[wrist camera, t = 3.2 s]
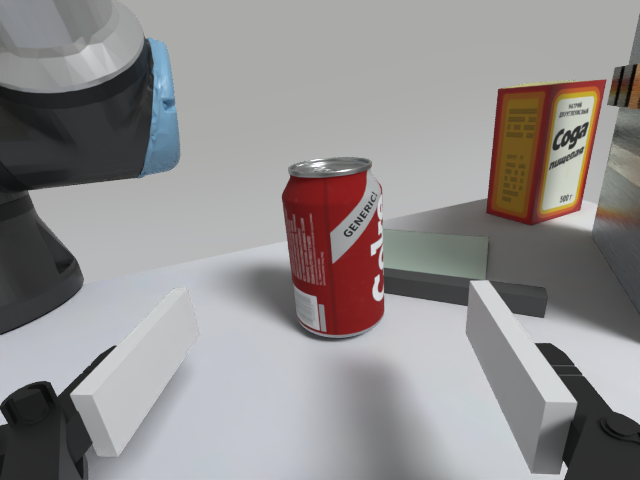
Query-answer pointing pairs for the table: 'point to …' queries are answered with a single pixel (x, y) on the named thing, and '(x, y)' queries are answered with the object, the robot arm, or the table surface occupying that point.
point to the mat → (436, 253)
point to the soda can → (335, 245)
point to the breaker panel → (623, 181)
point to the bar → (463, 290)
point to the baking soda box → (542, 149)
